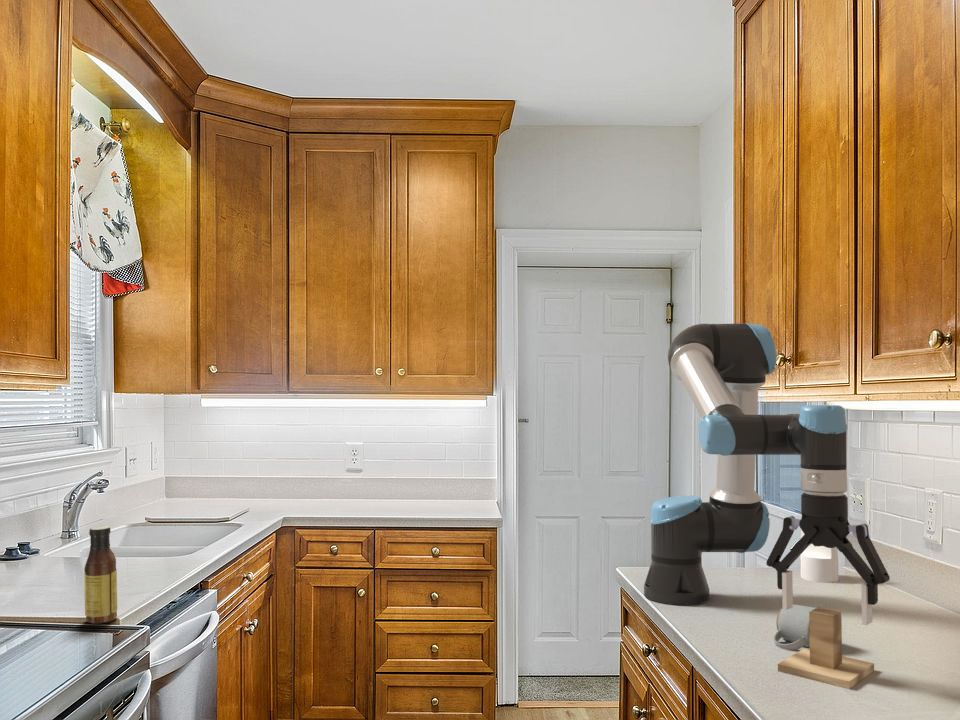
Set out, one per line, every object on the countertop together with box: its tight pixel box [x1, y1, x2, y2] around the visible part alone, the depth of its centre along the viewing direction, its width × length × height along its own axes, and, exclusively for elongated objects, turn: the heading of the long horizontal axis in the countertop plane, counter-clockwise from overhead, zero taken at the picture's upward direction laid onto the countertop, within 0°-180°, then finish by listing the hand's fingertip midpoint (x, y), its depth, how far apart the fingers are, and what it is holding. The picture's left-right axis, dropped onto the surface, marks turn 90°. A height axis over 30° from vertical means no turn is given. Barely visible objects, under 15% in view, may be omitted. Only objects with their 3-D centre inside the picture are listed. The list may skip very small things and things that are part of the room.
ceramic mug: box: [773, 603, 817, 651], centre depth 156 cm, size 11×8×8 cm
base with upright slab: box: [800, 529, 839, 584], centre depth 210 cm, size 9×9×12 cm
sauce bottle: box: [83, 525, 118, 625], centre depth 172 cm, size 6×6×20 cm
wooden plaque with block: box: [777, 606, 875, 690], centre depth 141 cm, size 12×12×10 cm
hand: (826, 615), depth 141 cm, fingers open, 13 cm apart
